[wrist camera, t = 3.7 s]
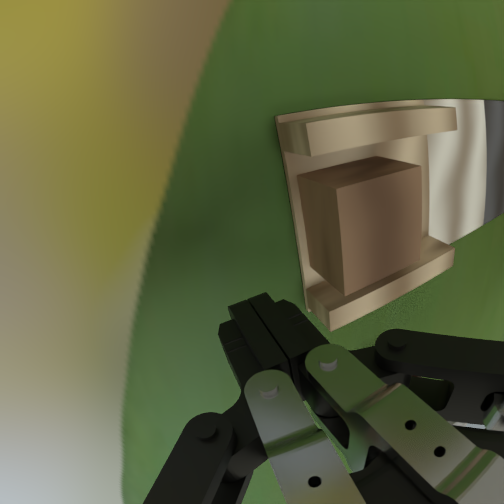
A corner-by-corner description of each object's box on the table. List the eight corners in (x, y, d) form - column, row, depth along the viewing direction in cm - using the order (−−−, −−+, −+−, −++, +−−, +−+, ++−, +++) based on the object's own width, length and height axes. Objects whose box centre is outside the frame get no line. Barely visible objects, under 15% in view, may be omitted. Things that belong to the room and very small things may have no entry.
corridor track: (515, 101, 23) (538, 105, 20) (514, 203, 29) (535, 211, 26) (274, 116, 16) (304, 114, 13) (306, 309, 22) (330, 336, 19)
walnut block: (376, 155, 19) (421, 165, 15) (381, 238, 21) (420, 259, 18) (296, 175, 17) (336, 189, 14) (310, 266, 20) (344, 296, 16)
